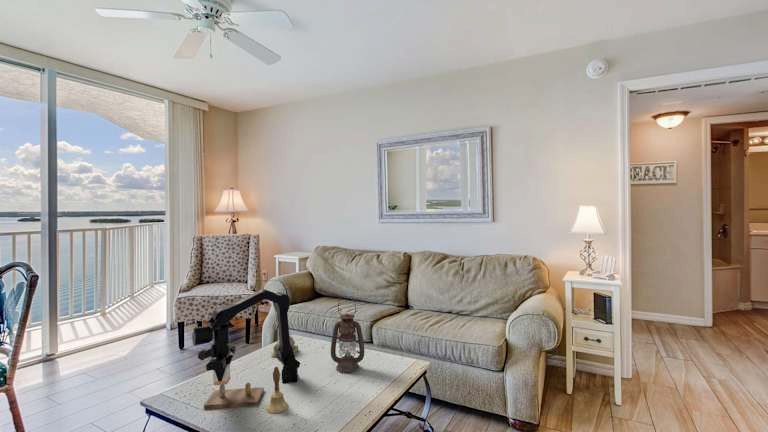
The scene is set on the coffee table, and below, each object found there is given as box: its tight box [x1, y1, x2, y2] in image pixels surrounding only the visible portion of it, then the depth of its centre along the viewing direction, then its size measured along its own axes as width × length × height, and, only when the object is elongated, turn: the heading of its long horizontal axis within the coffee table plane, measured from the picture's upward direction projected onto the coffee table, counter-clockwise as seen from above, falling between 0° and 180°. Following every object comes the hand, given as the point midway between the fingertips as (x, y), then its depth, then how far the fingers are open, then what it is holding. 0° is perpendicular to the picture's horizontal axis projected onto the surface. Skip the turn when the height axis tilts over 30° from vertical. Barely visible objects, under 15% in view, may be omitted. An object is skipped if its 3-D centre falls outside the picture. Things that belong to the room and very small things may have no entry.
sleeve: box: [212, 363, 231, 386], centre depth 148 cm, size 5×5×6 cm
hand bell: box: [265, 366, 289, 415], centre depth 142 cm, size 8×8×16 cm
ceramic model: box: [270, 335, 299, 358], centre depth 197 cm, size 14×11×10 cm
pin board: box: [203, 382, 265, 410], centre depth 149 cm, size 20×12×6 cm, turn 97°
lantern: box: [330, 295, 365, 374], centre depth 177 cm, size 11×16×35 cm
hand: (222, 378), depth 148 cm, fingers closed on sleeve, 5 cm apart
